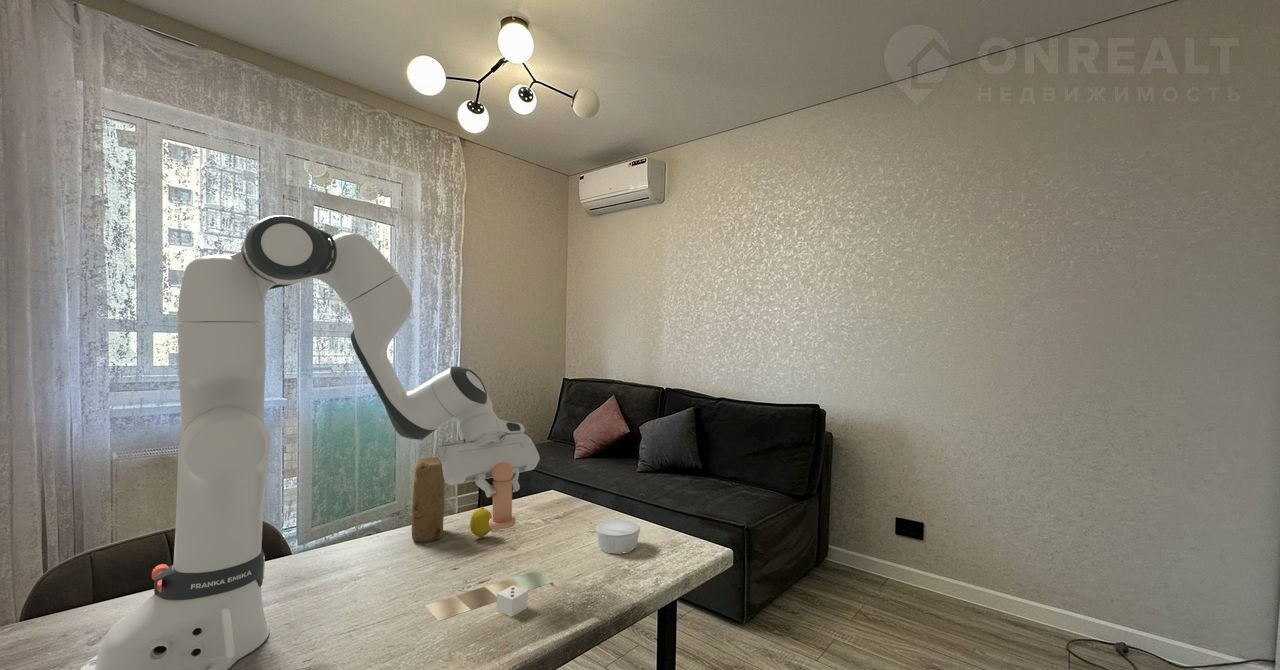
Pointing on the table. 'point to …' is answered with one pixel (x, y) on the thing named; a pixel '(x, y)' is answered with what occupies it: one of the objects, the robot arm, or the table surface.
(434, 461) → the block
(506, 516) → the round-topped peg
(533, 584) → the board
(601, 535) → the ramekin
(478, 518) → the lemon
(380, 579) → the table surface
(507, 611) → the die
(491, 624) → the table surface
